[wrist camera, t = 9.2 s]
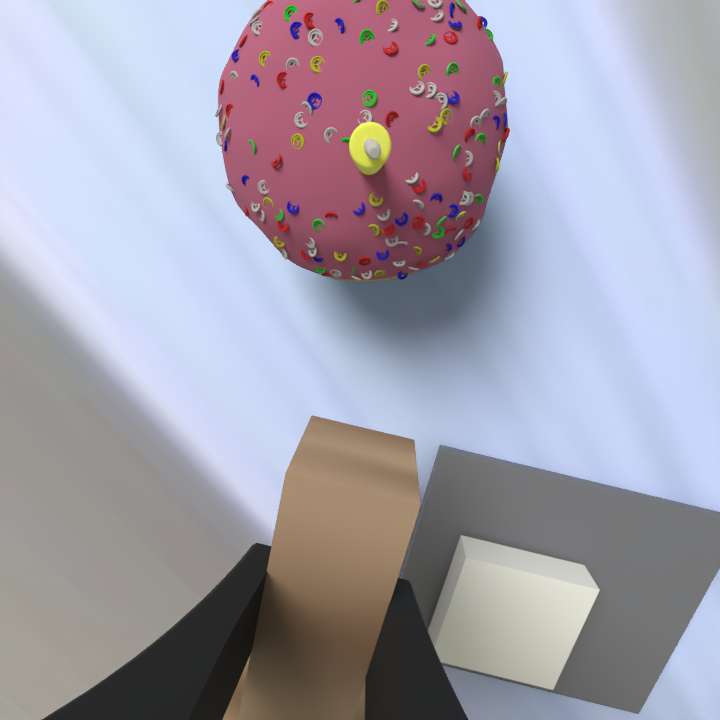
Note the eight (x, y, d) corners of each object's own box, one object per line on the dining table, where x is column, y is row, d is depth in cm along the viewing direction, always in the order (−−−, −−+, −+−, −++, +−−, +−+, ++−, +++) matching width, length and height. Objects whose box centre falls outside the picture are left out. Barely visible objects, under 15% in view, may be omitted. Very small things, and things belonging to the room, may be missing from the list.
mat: (733, 515, 19) (744, 523, 19) (632, 701, 22) (638, 713, 22) (440, 445, 19) (441, 450, 19) (380, 639, 23) (380, 649, 22)
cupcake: (503, 231, 17) (745, 187, 5) (313, 305, 18) (177, 397, 7) (435, 2, 15) (579, -818, 4) (230, 102, 16) (-155, -253, 5)
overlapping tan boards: (277, 407, 12) (241, 462, 9) (448, 448, 12) (466, 516, 9) (220, 732, 16) (182, 840, 13) (345, 763, 16) (335, 879, 13)
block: (599, 590, 18) (553, 690, 20) (582, 562, 20) (540, 656, 21) (466, 557, 18) (430, 659, 20) (460, 532, 20) (427, 628, 21)
